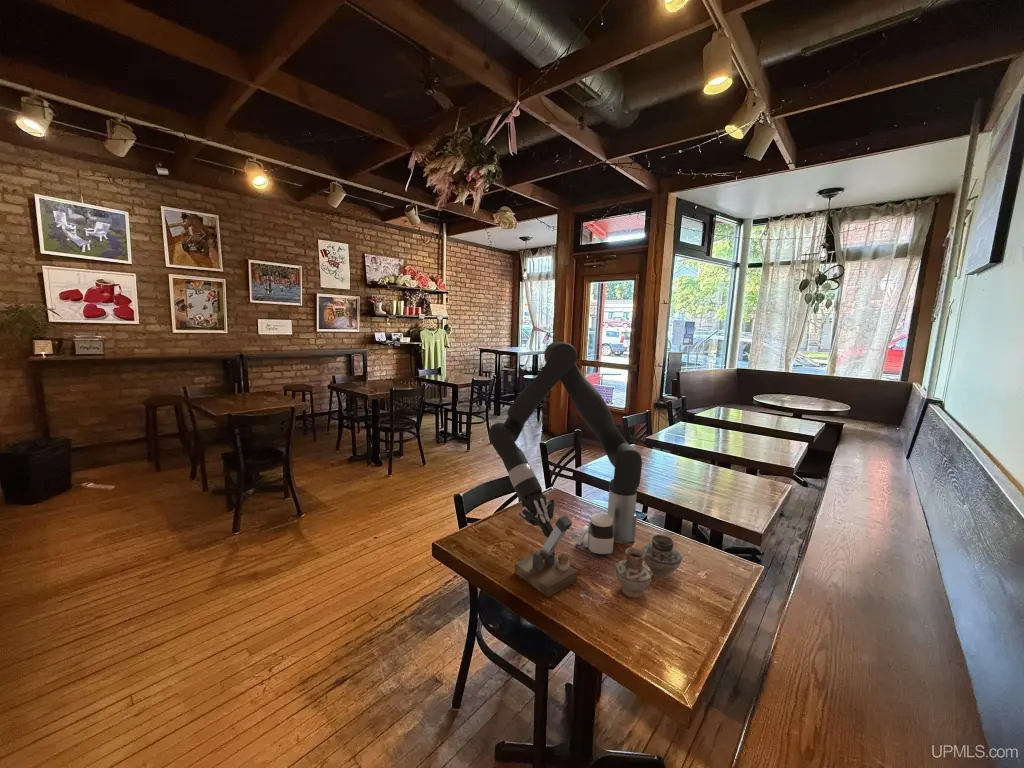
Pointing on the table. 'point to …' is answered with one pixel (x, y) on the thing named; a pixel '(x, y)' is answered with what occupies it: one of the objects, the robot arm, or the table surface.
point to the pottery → (655, 556)
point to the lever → (555, 536)
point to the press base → (547, 572)
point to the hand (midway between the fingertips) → (550, 536)
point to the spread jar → (599, 535)
